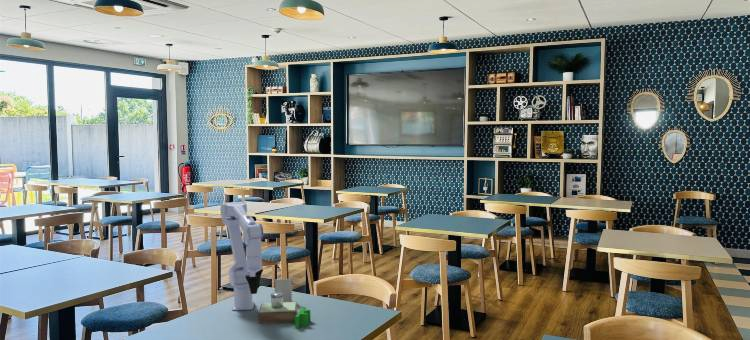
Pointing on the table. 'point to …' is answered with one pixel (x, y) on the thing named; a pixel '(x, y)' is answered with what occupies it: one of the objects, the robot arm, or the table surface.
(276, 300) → the grey metal cylinder
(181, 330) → the table surface
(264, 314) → the walnut stand
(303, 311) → the pipe clamp
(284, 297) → the grey rectangular block
